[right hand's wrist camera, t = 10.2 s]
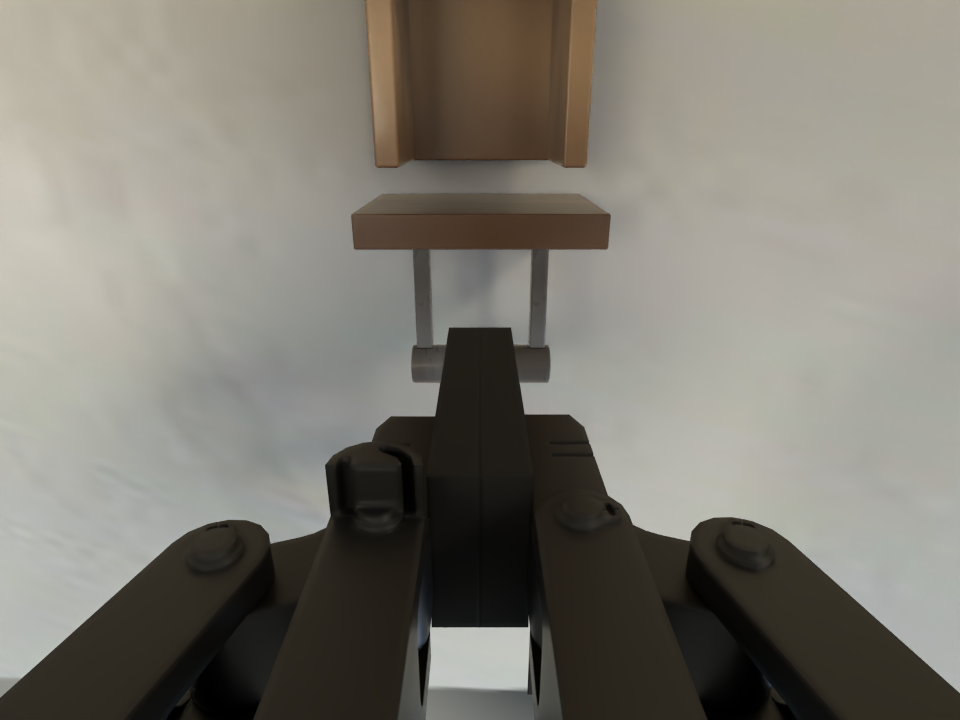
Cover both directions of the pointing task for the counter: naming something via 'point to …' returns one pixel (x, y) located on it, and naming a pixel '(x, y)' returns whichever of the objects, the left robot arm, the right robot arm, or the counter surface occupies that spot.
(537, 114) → the drawer
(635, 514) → the counter surface
